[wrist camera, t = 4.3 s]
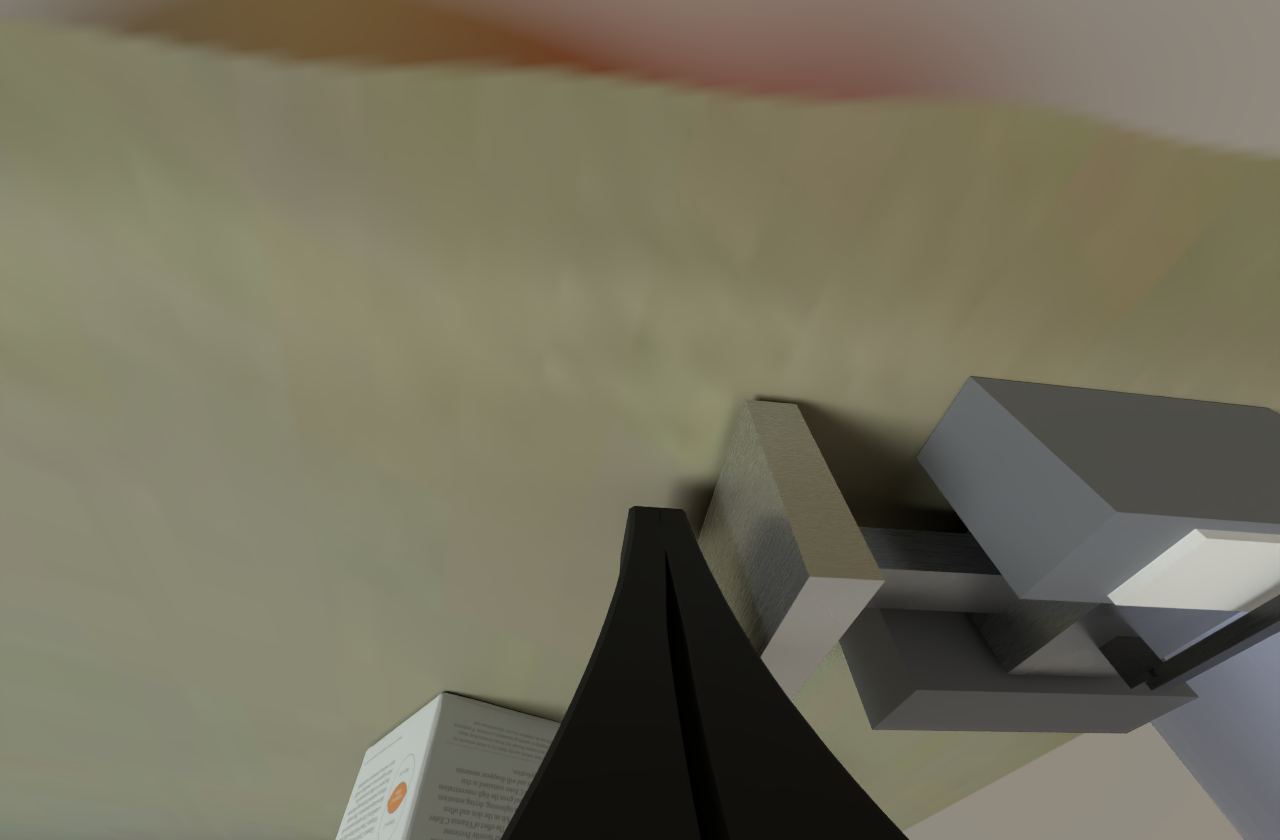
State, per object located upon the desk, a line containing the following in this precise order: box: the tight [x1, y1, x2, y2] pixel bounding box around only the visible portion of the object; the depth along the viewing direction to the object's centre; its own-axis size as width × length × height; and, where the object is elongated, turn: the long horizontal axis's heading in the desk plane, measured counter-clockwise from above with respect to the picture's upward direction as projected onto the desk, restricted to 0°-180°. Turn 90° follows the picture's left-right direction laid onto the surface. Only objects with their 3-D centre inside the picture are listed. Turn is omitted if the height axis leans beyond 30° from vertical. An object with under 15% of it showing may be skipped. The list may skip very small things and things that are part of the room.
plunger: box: [697, 400, 1280, 701], centre depth 11 cm, size 11×8×4 cm
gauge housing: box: [839, 377, 1280, 733], centre depth 12 cm, size 8×9×4 cm
